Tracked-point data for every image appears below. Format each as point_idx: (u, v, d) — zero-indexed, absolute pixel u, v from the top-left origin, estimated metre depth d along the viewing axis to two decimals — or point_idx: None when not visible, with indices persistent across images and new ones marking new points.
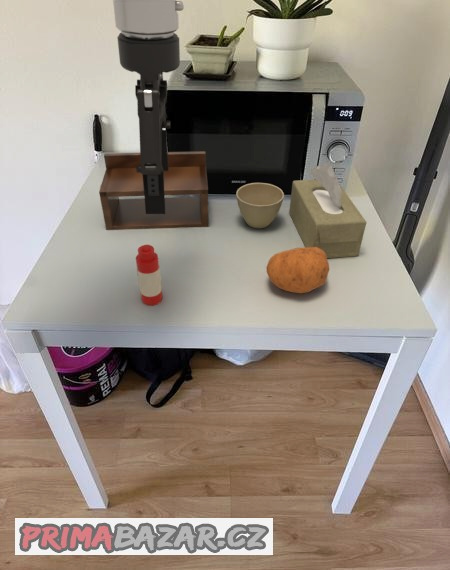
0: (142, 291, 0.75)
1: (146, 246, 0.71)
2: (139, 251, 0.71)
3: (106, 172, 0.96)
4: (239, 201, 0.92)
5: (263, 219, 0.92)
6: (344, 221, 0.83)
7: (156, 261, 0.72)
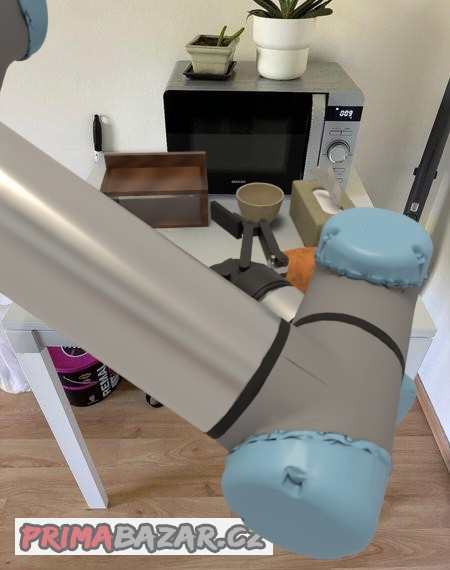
0: None
1: None
2: None
3: (106, 172, 0.96)
4: (239, 201, 0.92)
5: None
6: None
7: None
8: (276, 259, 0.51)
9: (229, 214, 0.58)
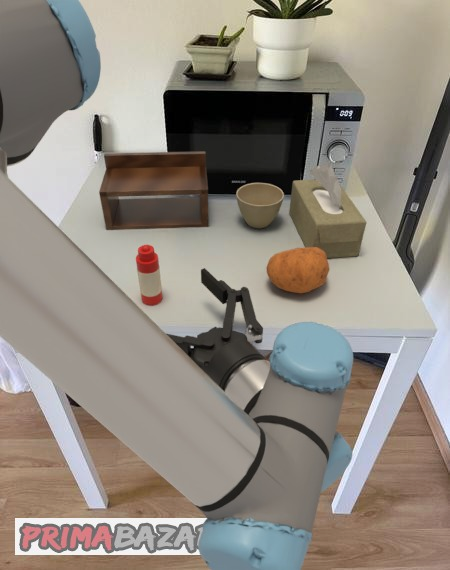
0: (142, 291, 0.75)
1: (146, 246, 0.71)
2: (139, 251, 0.71)
3: (106, 172, 0.96)
4: (239, 201, 0.92)
5: (263, 219, 0.92)
6: (344, 221, 0.83)
7: (156, 261, 0.72)
8: (253, 328, 0.62)
9: (216, 283, 0.69)
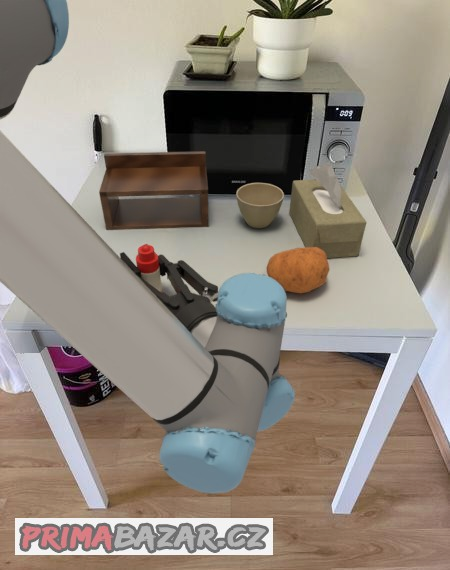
0: None
1: (146, 246, 0.71)
2: (139, 251, 0.71)
3: (106, 172, 0.96)
4: (239, 201, 0.92)
5: (263, 219, 0.92)
6: (344, 221, 0.83)
7: (156, 261, 0.72)
8: (209, 289, 0.69)
9: None
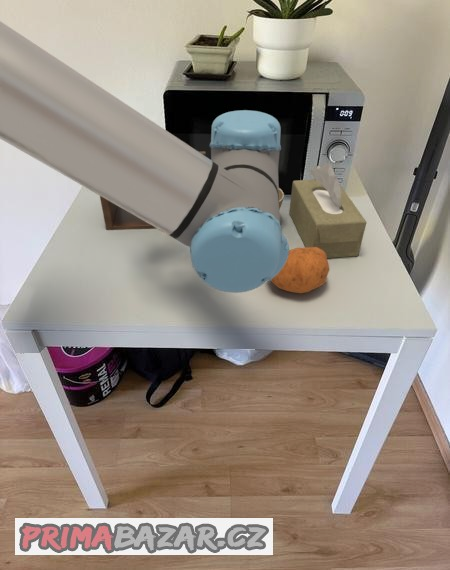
0: None
1: None
2: None
3: None
4: None
5: None
6: (344, 221, 0.83)
7: None
8: None
9: None
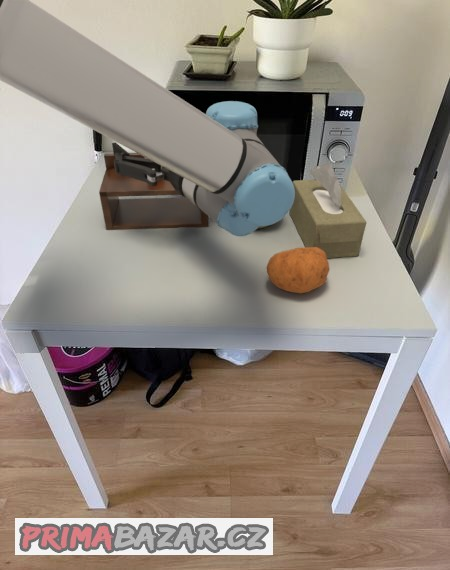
0: None
1: None
2: None
3: (106, 172, 0.96)
4: None
5: None
6: (344, 221, 0.83)
7: None
8: None
9: None
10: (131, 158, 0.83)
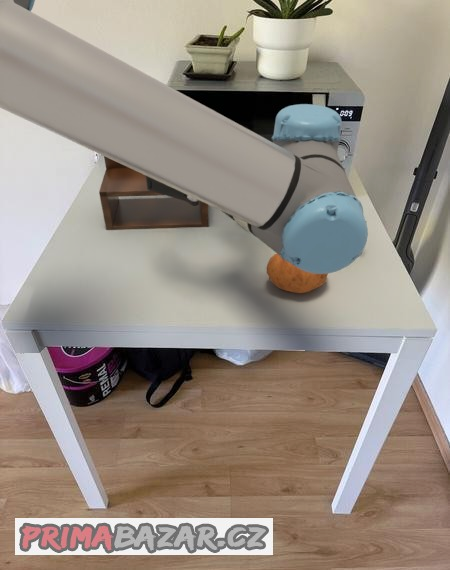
0: None
1: None
2: None
3: (106, 172, 0.96)
4: None
5: None
6: None
7: None
8: None
9: None
10: None
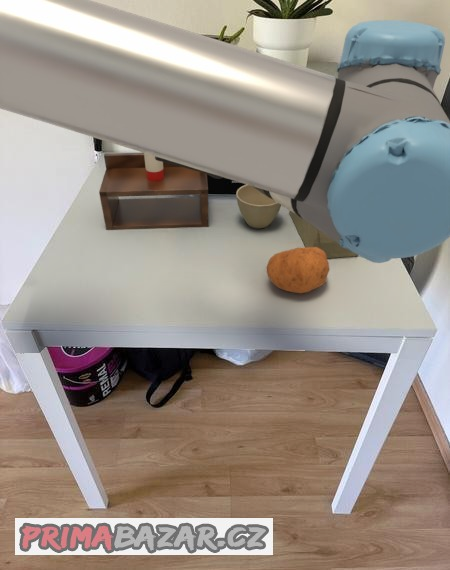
0: (147, 167, 0.91)
1: None
2: None
3: (106, 172, 0.96)
4: (239, 201, 0.92)
5: (263, 219, 0.92)
6: None
7: None
8: None
9: None
10: None
